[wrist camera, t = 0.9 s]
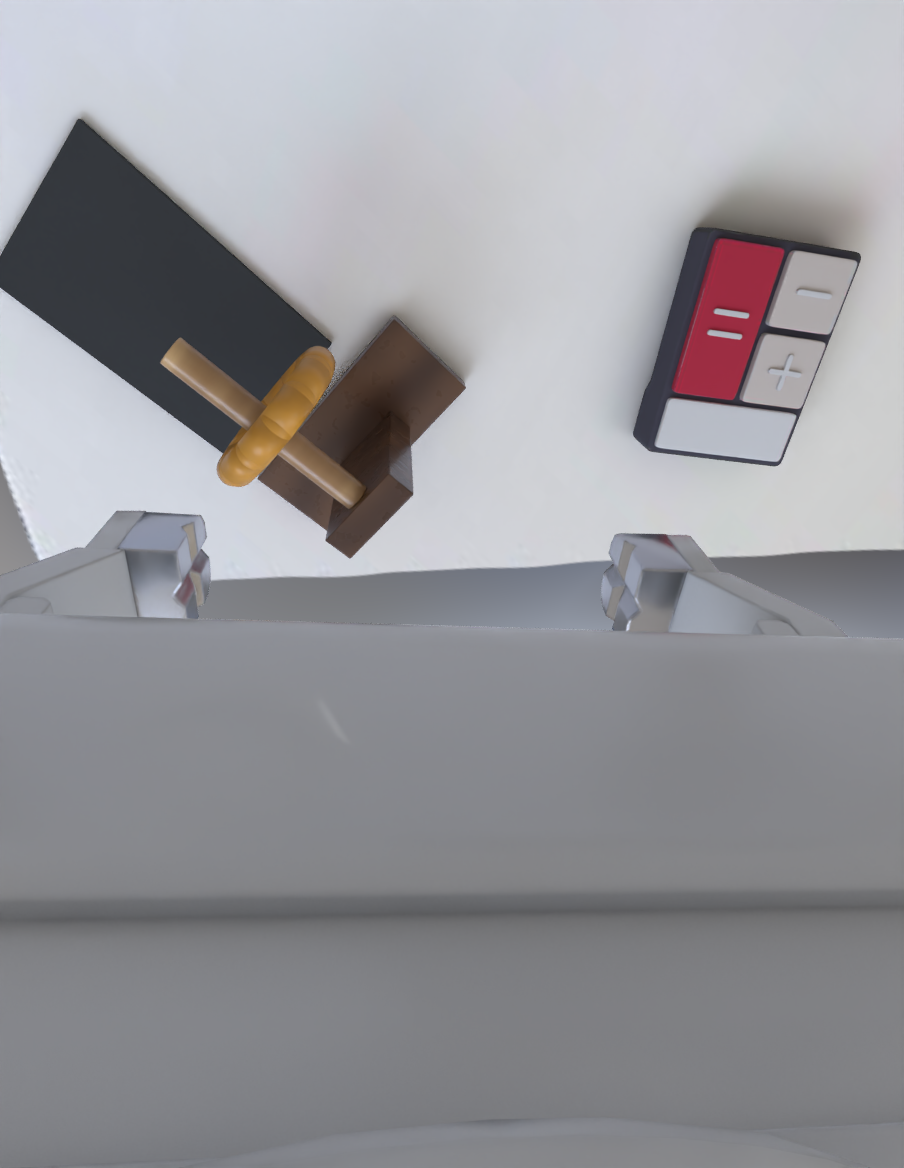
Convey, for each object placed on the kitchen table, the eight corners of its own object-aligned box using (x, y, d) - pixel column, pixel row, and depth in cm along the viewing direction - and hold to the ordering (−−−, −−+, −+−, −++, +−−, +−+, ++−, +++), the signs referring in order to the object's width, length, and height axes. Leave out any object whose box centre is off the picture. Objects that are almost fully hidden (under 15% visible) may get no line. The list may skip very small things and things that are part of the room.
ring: (255, 455, 47) (224, 519, 38) (231, 436, 46) (194, 498, 37) (346, 347, 43) (334, 391, 35) (321, 325, 42) (303, 365, 34)
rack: (464, 382, 50) (484, 446, 38) (330, 524, 55) (313, 617, 44) (290, 214, 43) (251, 231, 32) (157, 394, 49) (84, 464, 37)
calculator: (871, 253, 44) (785, 471, 51) (833, 250, 47) (758, 453, 54) (715, 227, 42) (649, 454, 49) (689, 226, 46) (630, 437, 53)
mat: (-10, 277, 44) (-13, 278, 44) (80, 118, 40) (78, 118, 40) (235, 459, 52) (234, 461, 51) (331, 343, 48) (331, 344, 47)
